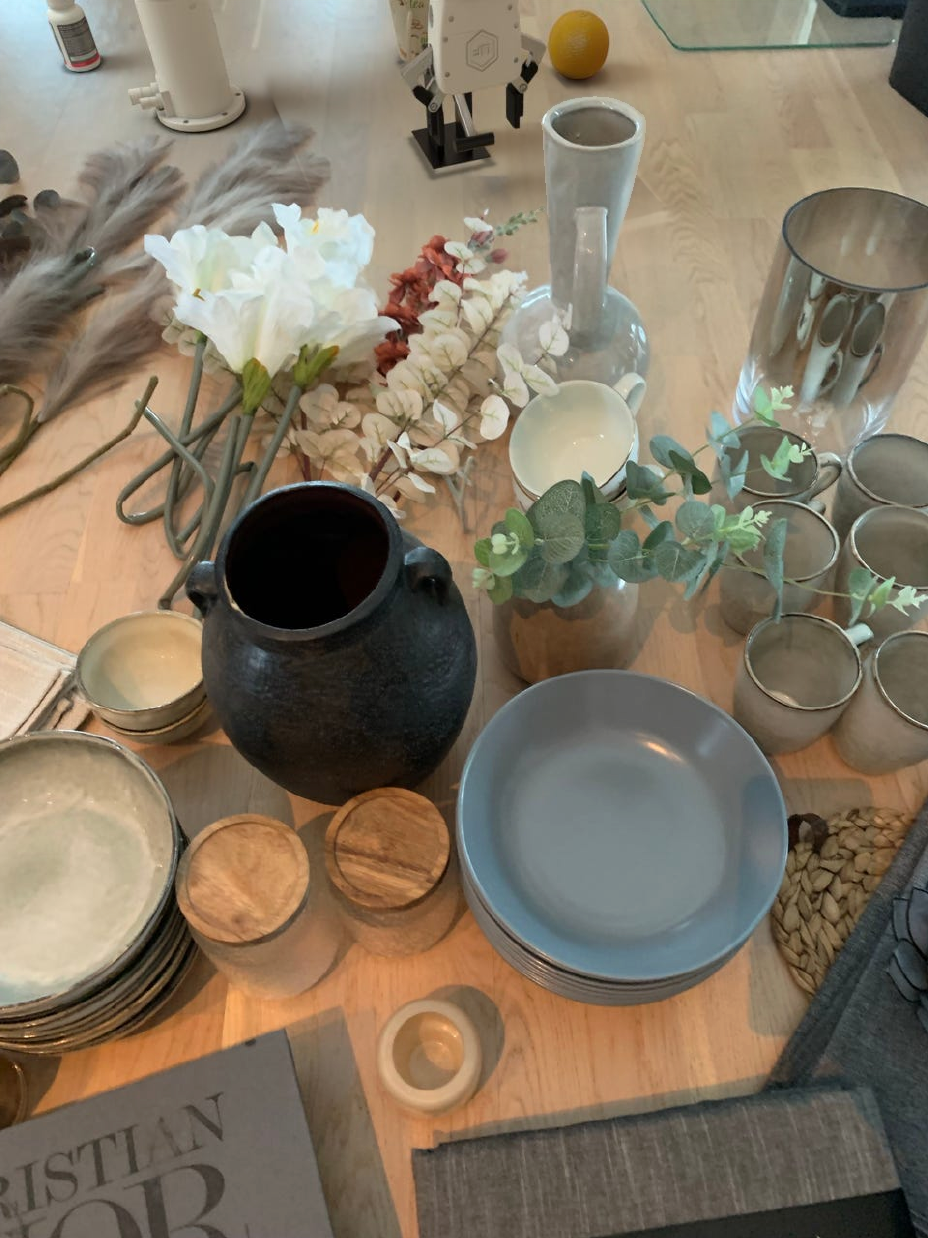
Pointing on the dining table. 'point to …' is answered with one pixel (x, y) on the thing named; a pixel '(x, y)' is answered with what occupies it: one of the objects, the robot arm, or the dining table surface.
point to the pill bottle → (72, 35)
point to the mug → (410, 26)
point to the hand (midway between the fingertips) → (476, 131)
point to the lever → (469, 129)
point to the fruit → (578, 44)
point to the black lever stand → (447, 137)
